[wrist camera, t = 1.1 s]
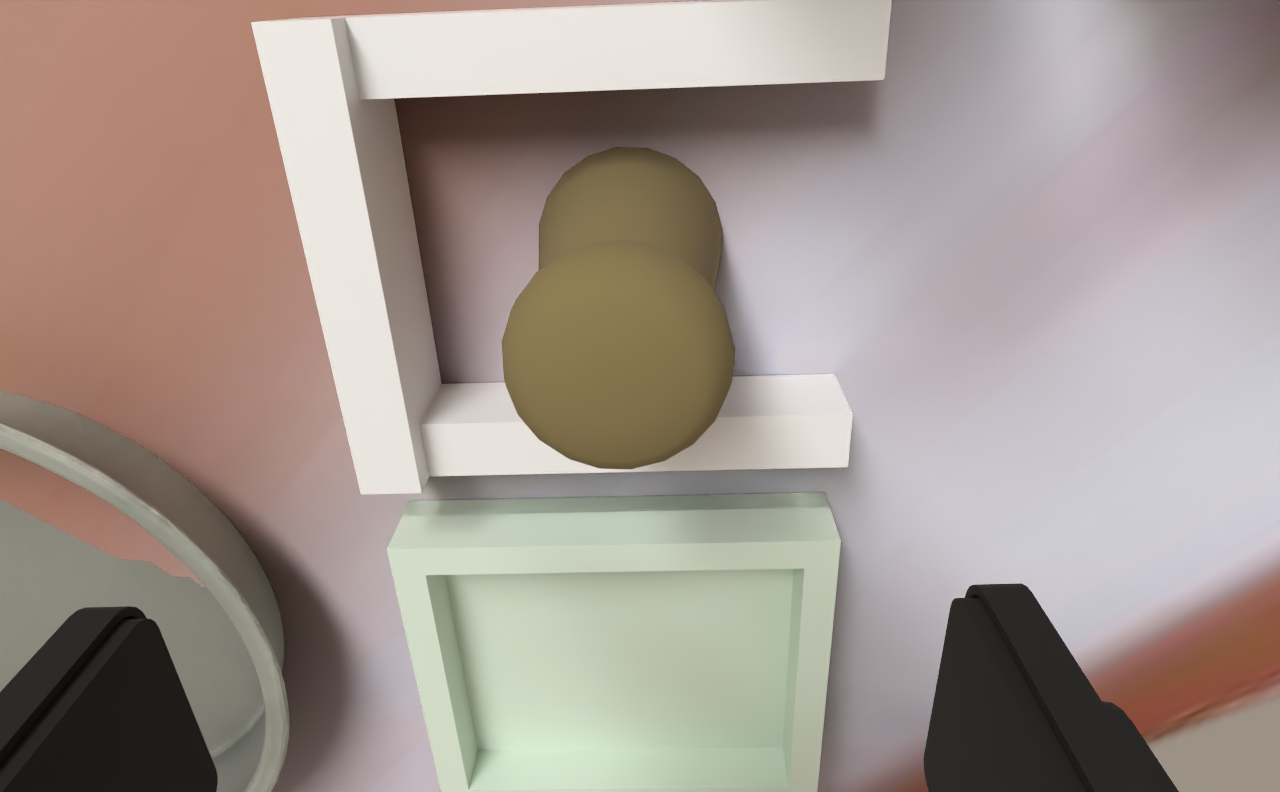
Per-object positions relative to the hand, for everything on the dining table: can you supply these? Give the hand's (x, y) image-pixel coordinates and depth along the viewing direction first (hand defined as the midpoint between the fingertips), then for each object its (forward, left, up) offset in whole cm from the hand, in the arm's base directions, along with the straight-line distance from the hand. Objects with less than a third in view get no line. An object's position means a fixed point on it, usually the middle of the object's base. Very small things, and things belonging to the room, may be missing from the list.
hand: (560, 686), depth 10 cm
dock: (0, 0, -19) cm, 19 cm away
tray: (+1, +17, -19) cm, 25 cm away
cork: (0, 0, -19) cm, 19 cm away
